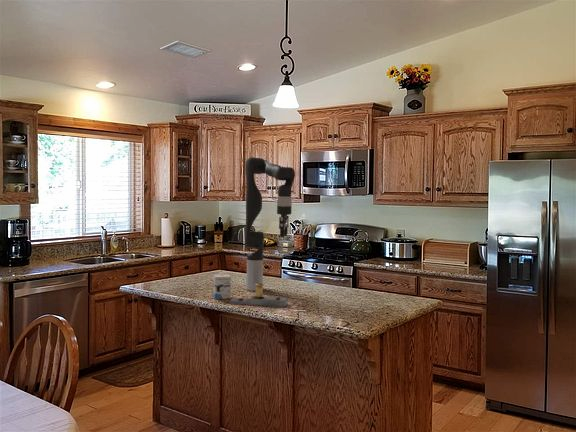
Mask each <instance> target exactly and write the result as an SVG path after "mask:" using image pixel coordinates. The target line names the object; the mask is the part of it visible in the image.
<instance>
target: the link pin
mask: <svg viewBox="0 0 576 432" xmlns="http://www.w3.org/2000/svg"><path fill="white" fill-rule="evenodd" d="M255 286H256V287H255V293H254V294H255V295H254V296H255V299H262V298H263V291H264V289H263V287H264V283H263V284H255Z"/></svg>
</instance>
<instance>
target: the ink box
mask: <svg viewBox="0 0 576 432" xmlns="http://www.w3.org/2000/svg"><path fill="white" fill-rule="evenodd" d="M231 282H232V277H231V275H229V274H214V275H213V290H212V291H213V292H212V293H213V299H214V300H222V299H223V300H225V299H227V298H229V299H231V295H232V294H231V293H232V292H231V289H232V287H231V285H232V283H231Z"/></svg>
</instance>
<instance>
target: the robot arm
mask: <svg viewBox="0 0 576 432" xmlns="http://www.w3.org/2000/svg"><path fill="white" fill-rule="evenodd" d="M244 169H245V184H246V186H245V187H246V188H245V189H246V194H245V231H244V245H245V248H249V249H251V248H252V249H253V248H255V249H256V248H257V249H256V250H255V251H253V252H251V253H247V255H246V290H247V291H253V292H254V291H255V287H256V286H255V284H263V285H264V278H263V277H264V243H265V235H264V232H263V231H251V229H252V227H253V224H254V223H255V220H257V217H258V216H259V214H260V213H261V211H262V210H263V197H262V193H261V191H260V189H259V187H258V186H257V184H256V181H255V175H263V174H266V175H267V176H269V177H270V178H274V179H275V180H276V181H277V180H278V181H284V184H281V185H278V188H277V200H276V201H277V202H276V207H277V208H276V213H277V215H280V216H279V217H278V218H279V220H278V222H279V224H278V229H279V236H280V238H284V237H285V236H288V229H289V219H290V217H289V215H292V202H293V201H292V188H293V185H294V181H295V178H296V171H295V169H294V168H293V167H291V166H290V167H289V166H281V165H279V164H276V163H270V162H269V161H267V160H266V159H263V158H261V157H254V156H253V157H251V156H250V157H247V159H246V160H245V167H244Z"/></svg>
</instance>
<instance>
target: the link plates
mask: <svg viewBox="0 0 576 432" xmlns="http://www.w3.org/2000/svg"><path fill="white" fill-rule="evenodd" d="M288 300H289V298H288V297H280V296H263V298H262V299H255V295H253V296H251V298H246V297H245V298H243V297H233V298H232V299H230V300H229V304H230V305H243V306H256V307H257V306H258V307H272V308H286V307H287V306H288V302H289V301H288Z"/></svg>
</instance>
